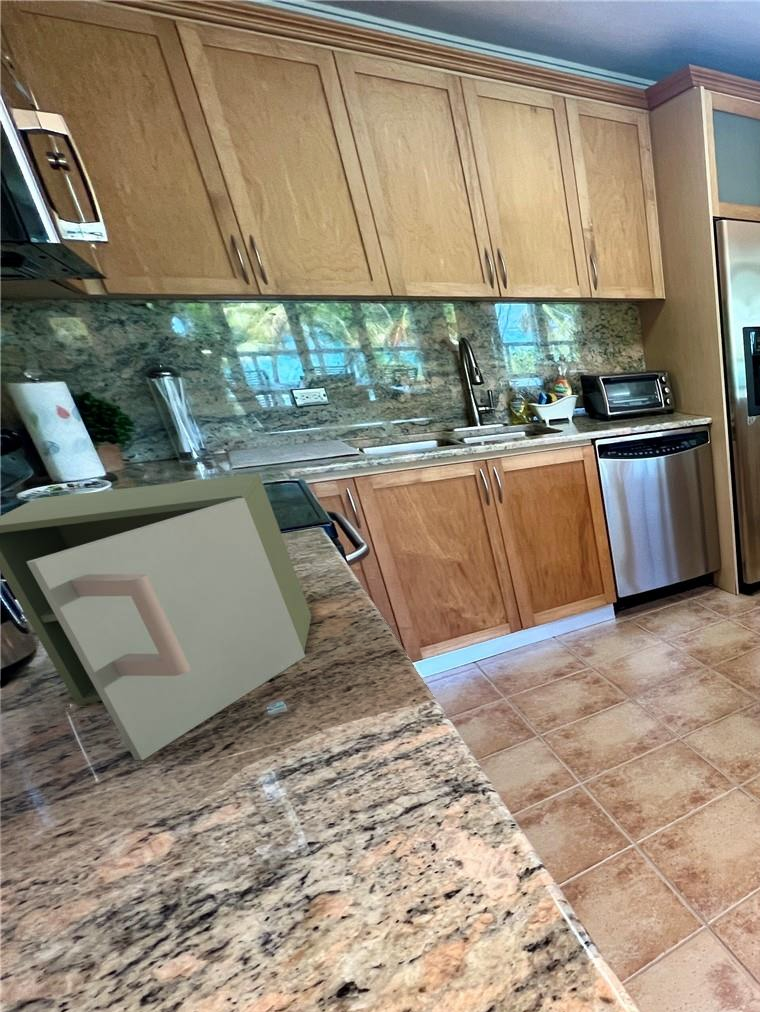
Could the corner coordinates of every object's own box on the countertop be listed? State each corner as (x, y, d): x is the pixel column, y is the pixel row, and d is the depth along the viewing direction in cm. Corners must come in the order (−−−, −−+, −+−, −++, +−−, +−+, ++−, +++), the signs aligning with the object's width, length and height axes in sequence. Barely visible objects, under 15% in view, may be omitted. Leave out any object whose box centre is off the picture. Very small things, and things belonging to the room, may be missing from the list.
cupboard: (303, 655, 84) (241, 495, 76) (77, 706, 74) (-25, 528, 65) (311, 616, 96) (259, 473, 87) (117, 655, 86) (35, 498, 77)
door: (351, 656, 83) (295, 497, 75) (201, 761, 64) (101, 561, 55) (300, 656, 84) (238, 497, 75) (134, 760, 64) (25, 561, 55)
